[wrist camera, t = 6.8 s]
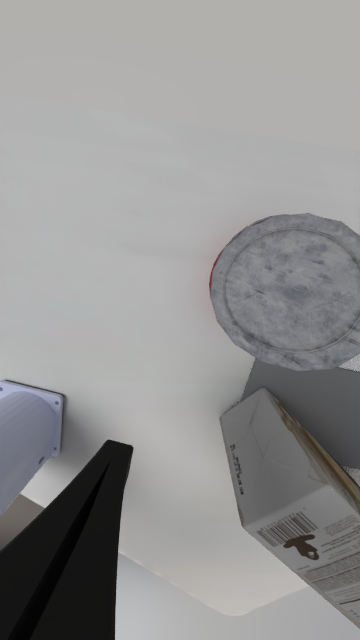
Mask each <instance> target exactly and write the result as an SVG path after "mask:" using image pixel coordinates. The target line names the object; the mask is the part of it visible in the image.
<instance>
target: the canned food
mask: <svg viewBox="0 0 360 640" xmlns="http://www.w3.org/2000/svg"><path fill="white" fill-rule="evenodd" d="M209 286H210V298H211V301H212V305H213V308H214V311H215V315H216V319H217V322H218V323H219V324H220V326H221V327H222V328H223V329H224V331H225V332H226V333H227V335H228V336H229V337H230V339H231V340H232V341H233V343H234V344H235V345H237V346H238V347H240V348H242V349H243V350H245V351H246V352H248V353H249V354H251V355H252V356H254V357H255V358H257V359H258V360H260V361H261V362H265V363H269V364H274V365H278V366H282V367H285V368H289V369H292V370H296V371H308V370H326V369H335V368H336V367H338V366H340V365H341V364H343V363H345V362H346V361H348V360H350V359H351V358H353V357H355V356H356V355H358V354H359V353H360V235H358V234H357V233H355V232H354V231H353V230H351V229H350V228H349V227H348V226H346V225H345V224H344V223H342V222H341V221H336V220H331V219H327V218H322V217H319V216H316V215H312V214H309V213H305V214H296V215H286V214H285V215H277V216H270V217H267V218H264V219H261V220H259V221H256V222H254V223H253V224H251V225H249V226H247V227H246V228H244V229H243V230H242V231H240V232H239V233H238V234H237V235H236V236H234V237H233V238H232V240H231V241H230V242H229V243H228V244H227V245H226V247H225V248H224V249H223V250H222V251H221V253H220V254H219V256H218V258H217V259H216V261H215V263H214V266H213V269H212V272H211V276H210V283H209Z"/></svg>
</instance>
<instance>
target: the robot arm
mask: <svg viewBox="0 0 360 640" xmlns="http://www.w3.org/2000/svg"><path fill="white" fill-rule="evenodd" d="M62 410H63V397H62V395H60V394H57V393H53V392H49V391H45V390H41V389H37V388H32V387H28V386H24V385H20V384H16V383H12V382H8V381H4V380H1V381H0V516H1V514H3V513H4V511H5V510H6V509H7V508H8V507H9V506H10V504H11V503H12V502H13V501H14V500H15V498H16V497H17V496H18V495H19V493H20V492H21V491H22V490H23V489H24V487H25V486H26V485H27V484H28V482H29V481H30V480H31V479H32V478H33V476H34V475H35V474H36V473H37V471H38V470H39V469H40V468H41V467H42V465H43V464H44V463H45V462H46V460H47V459H48V458H49V457H50V456H52V457H58V456H59V454H60V446H61V428H62ZM132 453H133V447H132V445H128V444H124V443H120V442H116V441H112V440H107V441H106V442H105V443H104V444H103V446H102V447H101V448H100V449H99V451H98V452H97V453H96V454H95V456H94V457H93V458H92V459H91V460H90V461H89V463H88V464H87V465H86V466H85V467H84V468H83V469H82V471H81V472H80V473H79V474H78V475H77V476H76V477H75V478H74V479H73V480H72V481H71V483H70V484H69V485H68V486H67V487H66V488H65V489H64V490H63V491H62V492H61V493H60V494H59V495H58V496H57V497H56V498H55V499H54V500H53V501H52V502H51V503H50V504H49V505H48V506H47V507H46V508H45V509H44V510H43V511H42V512H41V513H40V514H39V515H38V516H37V517H36V519H34V520H33V521H32V522H31V523H30V524H29V525H28V526H27V527H26V528H25V529H24V530H23V531H22V532H21V533H19V534H18V535H17V536H16V537H15V538H14V539H13V540H12V541H11V542H10V543H9V544H7V545H6V546H5V547H4V548H3V549H2V550H1V551H0V640H115V605H116V579H117V560H118V544H119V531H120V519H121V510H122V501H123V493H124V488H125V484H126V481H127V477H128V474H129V469H130V463H131V458H132Z"/></svg>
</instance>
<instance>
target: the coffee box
mask: <svg viewBox="0 0 360 640" xmlns="http://www.w3.org/2000/svg"><path fill="white" fill-rule="evenodd" d="M219 419H220V424H221V429H222V434H223V439H224V444H225V449H226V454H227V458H228V463H229V468H230V473H231V478H232V483H233V487H234V492H235V497H236V502H237V506H238V511H239V516H240V521H241V525H242V527H243V528H244V529H245V530H246V531H247V532H248V533H249V534H251V535H252V536H253V537H254V538H255V539H256V540H257V541H259V542H260V543H261V544H262V545H263V546H265V547H266V548H267V549H268V550H269V551H270V552H272V553H273V554H274V555H275V556H276V557H277V558H278V559H279V560H281V561H282V562H283V563H284V564H285V565H286V566H288V567H289V568H290V569H291V570H292V571H293V572H295V573H296V574H297V575H298V576H299V577H300V578H302V579H303V580H304V581H305V582H306V583H307V584H308V585H310V586H311V587H312V588H313V589H315V590H316V591H317V592H318V593H319V594H320V595H322V596H323V597H324V598H325V599H326V600H327V601H328V602H330V603H331V604H332V605H333V606H334V607H335V608H336V609H338V610H339V611H340V612H341V613H342V614H343V615H345V616H346V617H347V618H348V619H349V620H350V621H352V622H353V623H354V624H355V625H356V626H357V627H358V628H360V487H359V485H358V484H357V483H356V482H355V481H354V479H353V478H352V477H351V476H350V475H349V474H348V473H347V472H346V471H345V470H344V469H343V468H342V467H341V466H340V465H339V464H338V463H337V462H336V461H335V460H334V458H333V457H332V456H331V455H330V454H329V453H328V452H327V451H326V450H325V449H324V448H323V447H322V446H321V445H320V444H319V443H318V442H317V441H316V440H315V439H314V438H313V437H312V436H311V434H310V433H309V432H308V431H307V430H306V429H305V428H304V427H303V426H302V425H301V424H300V423H299V422H298V421H297V420H296V419H295V418H294V417H293V416H292V415H291V414H290V413H289V412H288V411H287V409H286V408H285V407H284V406H283V405H282V404H281V403H280V402H279V401H278V400H277V399H276V398H275V397H274V396H273V395H272V394H271V393H270V392H269V391H268V390H267V389H266V388H264V387H262V388H260V389H259V390H257V391H256V392H254V393H253V394H252V395H250V396H249V397H247V398H246V399H244V400H243V401H242V402H240V403H239V404H237V405H236V406H234V407H233V408H232V409H230V410H229V411H227V412H226V413H224V414H223V415H222V416H220V418H219Z"/></svg>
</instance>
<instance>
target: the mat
mask: <svg viewBox="0 0 360 640" xmlns="http://www.w3.org/2000/svg"><path fill="white" fill-rule="evenodd" d="M262 387H264V388H266V389H267V390H268V391H269V392H270V393H271V394H272V395H273V396H274V397H275V398H276V399H277V400H278V401H279V402H280V403H281V404H282V405H283V406H284V407H285V408H286V409H287V411H288V412H289V413H290V414H291V415H292V416H293V417H294V418H295V419H296V420H297V421H298V422H299V423H300V424H301V425H302V426H303V427H304V428H305V429H306V430H307V431H308V432H309V433H310V434H311V436H312V437H313V438H314V439H315V440H316V441H317V442H318V443H319V444H320V445H321V446H322V447H323V448H324V449H325V450H326V451H327V452H328V453H329V454H330V455H331V456H332V457H333V458H334V460H335V461H336V462H337V463H338V464H340V465H344V466H348V467H352V468H356V469H360V372H356V371H352V370H347V369H343V368H339V367H336V368H335V369H326V370H308V371H296V370H292V369H289V368H285V367H282V366H278V365H274V364H269V363H265V362H261V361H260V360H258V359H257V358H256V359H255V362H254V365H253V368H252V371H251V373H250V376H249V379H248V382H247V385H246V388H245V390H244V393H243V396H242V399H241V402H242V401H243V400H244V399H246V398H247V397H249V396H250V395H252V394H253V393H254V392H256V391H257V390H259V389H260V388H262Z"/></svg>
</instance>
